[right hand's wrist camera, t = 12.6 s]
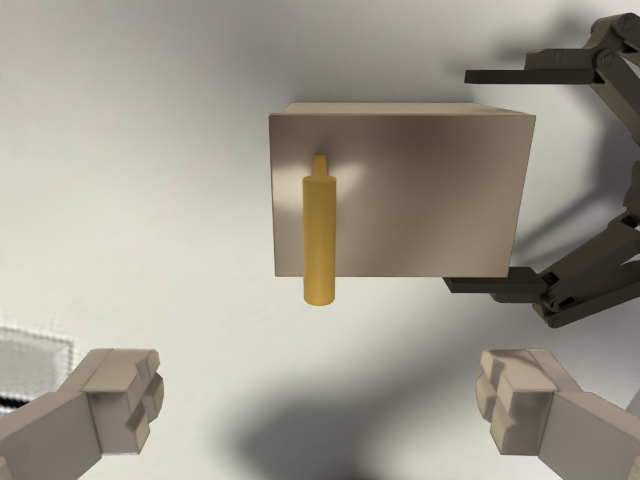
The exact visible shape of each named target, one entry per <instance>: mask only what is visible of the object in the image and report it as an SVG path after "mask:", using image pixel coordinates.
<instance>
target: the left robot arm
mask: <svg viewBox="0 0 640 480" xmlns="http://www.w3.org/2000/svg"><path fill="white" fill-rule="evenodd" d="M620 55H621V56H622V57H624V58H626V59H627V60H629V61H630V62H632V63H634V64H635V65H637V66H638V67H640V17H639V16H637V15H636V14H634V13H626V14H620V15H615V16H610V17H605V18H600V19H598V20H596V21H595V22H594V24H593V25H592V27H591V37H590V39H589V41H588V42H587V44H586V45H585V46H583V47H582V48H580V49H539V50H534V51H532V52H529V53H527V56H526V62H525V68H524V70H466V72H465V81H464V83H471V84H589V85H590V86H591V87H592V88H593V90H594V91H595V92H596V93H597V94H598V95H599V96H600V97H601V99H602V100H603V101H604V102H605V103H606V104H607V105H608V106H609V108H610V109H611V110H612V111H613V112H614V113H615V114H616V116H617V117H618V118H619V119H620V120H621V121H622V122H623V123H624V125H625V126H626V127H627V128H628V129H629V130H630V131H631V132H632V134H633V135H632V138H633V139H634V141H635V142H636V143H637V144H638V145H639V146H640V79H639V78H638V76H637V75H636V74H635V73H634V72H633V70H632V69H631V68H630V67H629V66H628V64H627V63H626V62H625V61H624V60H623V59H622V57H621V56H620ZM623 206H625V207H627V211H626V212H624V213H623V214H621V215H620V216H618V217H617V218H615V219H614V220H612V221H611V222H609V224H608V228H607V229H606V230H605V231H603V232H602V233H600V234H599V235H597V236H596V237H594V238H593V239H591V240H589V241H588V242H586V243H585V244H583V245H582V246H580V247H579V248H577V249H576V250H574V251H573V252H571V253H570V254H568V255H567V256H565V257H564V258H562V259H560V260H559V261H557V262H556V263H554V264H553V265H551V266H550V267H548V268H547V269H545V270H544V271H542V272H541V273H539V274H537V273H535V272H534V271H533V270H532V269H531V268H530V267H509V270H508V276H507V277H442V278H443V280H444V281H445V283H446V285H447V286H448V288H449V290H450V291H451V293H489V294H490V295H491V297H492V298H493V299H494V301H497V302H500V303H533V304H532V307H533V309H534V310H535V311H536V312H537V313H538V315H539V316H540V317H541V318H542V319H543V320H544V321H545V322H546V323H547V324H548V326H549V327H551V328H559V327H561V326H564V325H567V324H569V323H572V322H574V321H577V320H580V319H582V318H585V317H587V316H590V315H593V314H595V313H598V312H600V311H603V310H606V309H608V308H611V307H613V306H616V305H619V304H621V303H624V302H626V301H629V300H632V299H634V298H637V297H639V296H640V260H637V261H632V262H628V263H625V264H623V263H624V262H626V261H627V260H629V259H630V258H632V257H634V256H635V255H637V254H640V231H638V230H636V229H634V228H635V227H637V226H638V225H639V226H640V161H635V163H634V167H633V170H632V184H631V186H630V188H629V190H628V192H627V194H626V196H625V199H624V203H623ZM621 264H622V265H621ZM619 265H620V266H619Z"/></svg>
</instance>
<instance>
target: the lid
mask: <svg viewBox="0 0 640 480" xmlns="http://www.w3.org/2000/svg"><path fill="white" fill-rule="evenodd" d="M535 121H536V116H535V115H531V114H433V113H271V114H270V115H269V139H270V163H271V188H272V212H273V237H274V261H275V276H276V277H304V300H305V301H306V302H307V303H308V304H311V305H315V306H324V305H328V304H330V303H332V302H333V301H334V299H335V277H507V276H508V270H509V264H510V259H511V253H512V248H513V242H514V237H515V231H516V226H517V220H518V215H519V209H520V204H521V198H522V193H523V187H524V181H525V176H526V170H527V165H528V159H529V154H530V148H531V143H532V137H533V132H534V126H535Z"/></svg>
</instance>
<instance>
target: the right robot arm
mask: <svg viewBox="0 0 640 480" xmlns="http://www.w3.org/2000/svg"><path fill="white" fill-rule="evenodd" d="M159 365H160V360H159V355H158V352H157V351H156V350H155V349H93V350H91V351H90V352H89V353H88V354H87V355H86V357H85V358H84V359H83V360H82V361H81V363H80V364H79V365H78V366H77V367H76V369H75V370H74V371H73V372H72V373H71V374H70V376H69V377H68V378H67V379H66V380H65V382H64V383H63V384H62V385H61V386H60V388H59V389H58V390H57V391H56V392H49V393H47V394H45V395H43V396H41V397H39V398H37V399H35V400H33V401H31V402H30V403H28V404H26V405H24V406H22V407H20V408H18V409H16V410H14V411H12V412H11V413H9V414H7V415H5V416H3V417H1V418H0V480H77V479H78V478H79V477H80V476H82V475H83V474H84V473H85V472H86V471H87V470H89V469H90V468H91V467H92V466H93V465H94V464H96V463H97V462H98V461H99V460H100V459H101V458H102V456H117V455H139V454H140V452H141V450H142V448H143V446H144V444H145V442H146V440H147V438H148V436H149V433H150V428H149V423H150V422H152V421H153V420H154V419H156V418H157V417H158V414H159V412H160V410H161V407H162V402H163V398H164V384H163V378H162V377H161V376H160V375H159V374H158V373H157V372H156V370H157V369H158V367H159ZM480 365H481V367H482V369H483V370H484V372H483V373H482V374H481V375H480V376H479V377H478V378H477V385H476V396H477V403H478V407H479V410H480V412H481V414H482V417H483V418H484V419H486V420H487V421H488V422H490V423H491V428H490V433H491V436H492V438H493V440H494V442H495V444H496V446H497V448H498V450H499V452H500V454H501V455H523V456H538V458H539V459H540V460H541V461H542V462H544V463H545V464H546V465H547V466H548V467H549V468H550V469H552V470H553V471H554V472H555V473H556V474H557V475H559V476H560V477H561V478H562V479H563V480H640V418H639V417H637V416H635V415H633V414H631V413H629V412H627V411H626V410H624V409H622V408H620V407H618V406H616V405H614V404H612V403H610V402H609V401H607V400H605V399H603V398H601V397H599V396H597V395H595V394H593V393H591V392H584V391H583V390H582V389H581V388H580V386H579V385H578V384H577V383H576V382H575V380H574V379H573V378H572V377H571V376H570V375H569V373H568V372H567V371H566V370H565V369H564V367H563V366H562V365H561V364H560V363H559V361H558V360H557V359H556V358H555V357H554V355H553V354H552V353H551V352H550V351H549V350H547V349H545V348H537V349H520V350H484V351H483V353H482V355H481V360H480Z"/></svg>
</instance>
